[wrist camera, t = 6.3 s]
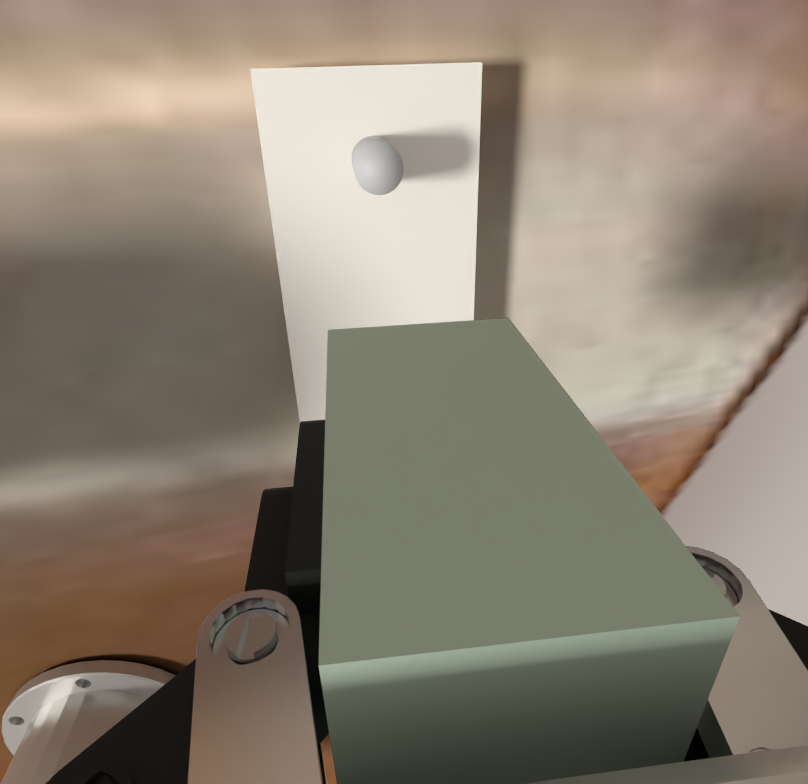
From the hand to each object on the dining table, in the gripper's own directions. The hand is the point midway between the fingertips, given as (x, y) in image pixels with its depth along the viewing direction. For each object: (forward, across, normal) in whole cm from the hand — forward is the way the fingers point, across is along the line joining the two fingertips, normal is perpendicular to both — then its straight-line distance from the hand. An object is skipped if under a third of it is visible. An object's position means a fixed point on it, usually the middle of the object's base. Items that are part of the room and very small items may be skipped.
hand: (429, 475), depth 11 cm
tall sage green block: (+1, 0, 0) cm, 1 cm away
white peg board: (+15, 0, +5) cm, 16 cm away
